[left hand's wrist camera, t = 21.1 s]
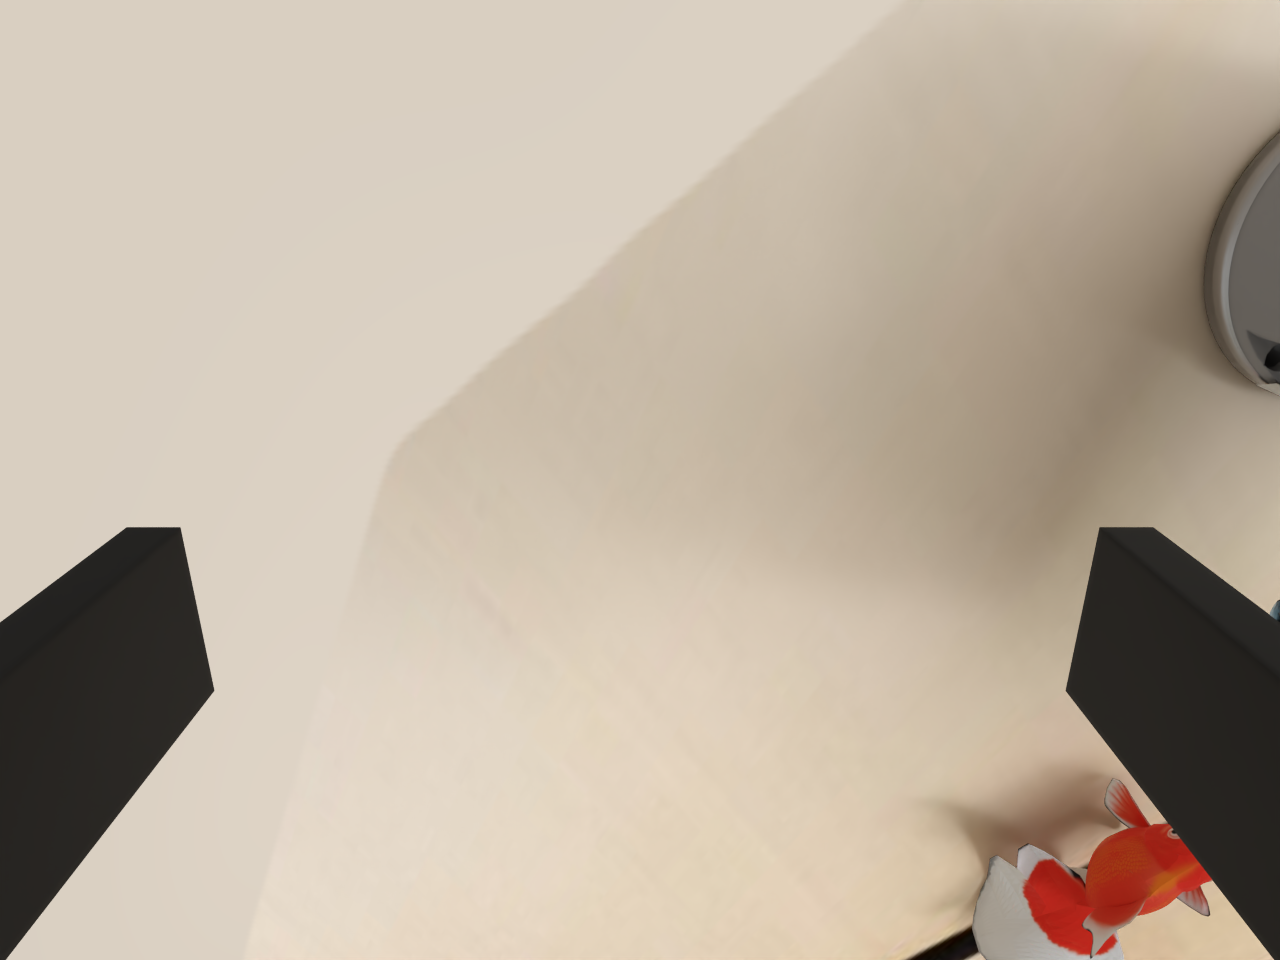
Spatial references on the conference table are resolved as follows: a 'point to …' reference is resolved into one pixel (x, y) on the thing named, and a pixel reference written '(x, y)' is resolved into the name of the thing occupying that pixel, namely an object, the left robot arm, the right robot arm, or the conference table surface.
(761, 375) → the conference table surface
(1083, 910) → the fish
